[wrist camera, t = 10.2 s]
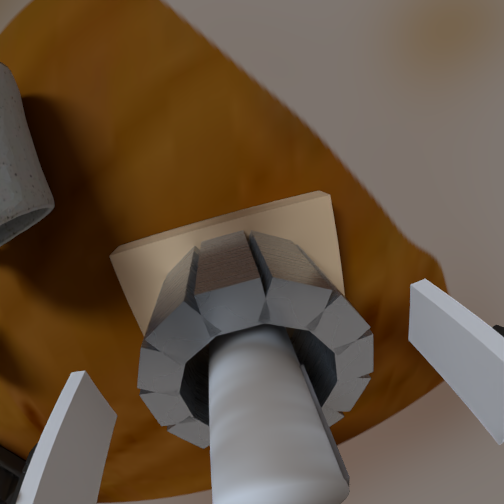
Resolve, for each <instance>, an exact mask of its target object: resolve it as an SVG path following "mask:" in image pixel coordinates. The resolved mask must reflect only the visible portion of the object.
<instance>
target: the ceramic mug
mask: <svg viewBox="0 0 504 504" xmlns="http://www.w3.org/2000/svg"><path fill="white" fill-rule="evenodd" d="M53 208H54V199H53V196H52V193H51V191H50V189H49V186H48V184H47V181H46V179H45V176H44V173H43V171H42V168H41V166H40V163H39V160H38V157H37V154H36V150H35V147H34V144H33V141H32V137H31V134H30V131H29V128H28V125H27V121H26V118H25V113H24V109H23V105H22V100H21V95H20V92H19V89H18V87H17V84H16V82H15V79H14V77H13V75H12V73H11V71H10V70H9V68H8V67H7V66H6V65H4V64H3V63H1V62H0V246H2V245H3V244H5V243H7V242H8V241H10V240H12V239H13V238H14V237H15V236H17V235H19V234H20V233H22V232H24V231H26V230H27V229H29V228H30V227H31V226H33V225H34V224H36V223H37V222H39V221H40V220H41V219H43V218H44V217H45V216H46V215H48V214H49V213H50V212H51V211H52V209H53Z"/></svg>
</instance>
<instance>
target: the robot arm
mask: <svg viewBox="0 0 504 504" xmlns="http://www.w3.org/2000/svg"><path fill="white" fill-rule="evenodd" d="M408 340H409V341H410V342H411V343H412V344H413V345H414V347H415V348H416V349H417V350H418V351H419V352H420V353H421V354H422V355H423V356H424V357H425V359H426V360H427V361H428V362H429V363H430V364H431V365H432V366H433V367H434V369H435V370H436V371H437V372H438V373H439V374H440V375H441V376H442V378H443V379H444V380H445V381H446V382H447V383H448V384H449V385H450V386H451V388H452V389H453V390H454V391H455V392H456V394H457V395H458V396H459V397H460V398H461V399H462V401H463V402H464V403H465V404H466V405H467V406H468V408H469V409H470V410H471V411H472V412H473V414H474V415H475V416H476V417H477V418H478V420H479V421H480V422H481V423H482V425H483V426H484V427H485V428H486V429H487V431H488V432H489V433H490V434H491V436H492V437H493V438H494V439H495V441H496V442H497V443H498V444H499V445H500V444H502V443H503V442H504V327H501V326H499V325H495V326H494V327H490V326H489V325H487V324H486V323H485V322H484V321H483V320H481V319H480V318H479V317H477V316H476V315H474V314H473V313H472V312H471V311H469V310H468V309H467V308H465V307H464V306H463V305H461V304H460V303H458V302H457V301H456V300H454V299H453V298H452V297H450V296H449V295H448V294H446V293H445V292H443V291H442V290H441V289H439V288H438V287H436V286H435V285H433V284H432V283H431V282H429V281H428V280H426V279H424V280H421V281H419V282H416V283H414V284H411V285H410V319H409V337H408ZM116 418H117V415H116V413H115V412H114V411H113V409H112V408H111V407H110V405H109V404H108V403H107V401H106V400H105V398H104V397H103V396H102V394H101V393H100V391H99V390H98V389H97V387H96V386H95V384H94V383H93V381H92V380H91V378H90V377H89V375H88V374H87V372H86V371H79V372H72V373H71V375H70V377H69V379H68V381H67V382H66V384H65V386H64V388H63V390H62V392H61V394H60V396H59V398H58V401H57V403H56V405H55V407H54V409H53V411H52V413H51V415H50V417H49V420H48V422H47V424H46V426H45V428H44V431H43V433H42V435H41V438H40V440H39V442H38V443H37V444H36V445H35V446H34V448H33V449H32V450H31V451H30V453H29V455H28V458H27V460H26V462H25V461H23V460H22V459H20V458H19V457H17V456H16V455H14V454H12V453H11V452H9V451H7V450H6V449H4V448H2V447H0V504H96V503H97V498H98V493H99V488H100V483H101V479H102V474H103V470H104V465H105V461H106V457H107V453H108V448H109V444H110V441H111V437H112V433H113V429H114V425H115V422H116Z"/></svg>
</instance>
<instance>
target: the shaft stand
mask: <svg viewBox="0 0 504 504" xmlns="http://www.w3.org/2000/svg"><path fill="white" fill-rule="evenodd" d="M242 230H243V231H244V234H245V237H246V240H247V242H248V238H249V235H250V232H251V230H253V231H257V232H261V233H265V234H269V235H273V236H276V237H280V238H284V239H288V240H291V241H292V242H293V243H294V244H295V245H296V244H298V245H299V246H300V247H301V249H302V250H303V251H304V252H305V253H306V254H307V255H308V256H309V257H310V258H311V259H312V260H313V261H314V262H315V263H316V265H317V266H318V267H319V268H320V269H321V270H322V271H323V272H324V273H325V274H326V276H327V277H328V278H329V279H330V280H331V281H332V283H333V284H334V285H335V286H336V287H337V288H338V289H339V291H340V292H341V293H342V294H343V295H344V296H345V293H344V284H343V276H342V268H341V261H340V253H339V246H338V240H337V233H336V227H335V221H334V215H333V209H332V203H331V198H330V195H329V194H326V193H324V192H321V191H315V192H310V193H306V194H302V195H298V196H294V197H290V198H286V199H282V200H278V201H274V202H270V203H266V204H262V205H259V206H255V207H251V208H247V209H243V210H240V211H236V212H232V213H229V214H225V215H221V216H218V217H214V218H211V219H207V220H203V221H200V222H196V223H193V224H189V225H186V226H183V227H179V228H176V229H172V230H169V231H166V232H162V233H159V234H156V235H152V236H149V237H146V238H143V239H139V240H136V241H133V242H130V243H127V244H123V245H120V246H118V247H117V248H116V249H115V250H114V251H113V252H112V253H111V255H110V256H109V257H110V260H111V262H112V265H113V267H114V270H115V272H116V275H117V277H118V280H119V282H120V285H121V287H122V289H123V292H124V294H125V296H126V298H127V301H128V303H129V305H130V307H131V310H132V312H133V314H134V316H135V318H136V320H137V322H138V325H139V327H140V329H141V331H142V333H143V335H144V336H145V333H146V330H147V327H148V324H149V321H150V319H151V316H152V313H153V310H154V307H155V304H156V301H157V299H158V296H159V293H160V290H161V287H162V285H163V282H164V280H165V279H166V276H167V274H168V273H169V272H170V271H171V270H172V269H173V268H174V266H175V265H176V264H177V263H178V262H179V261H180V260H181V259H182V258H183V257H184V256H185V255H186V254H187V253H188V252H189V251H190V250H191V249H192V248H193V247H194V246H196V247H197V248H198V249H199V250H200V248H201V242H202V241H205V240H209V239H212V238H216V237H220V236H223V235H227V234H231V233H234V232H238V231H242ZM294 330H295V328H290V327H283V326H277V325H272V324H266V323H264V324H260V325H256V326H253V327H249V328H245V329H242V330H238V331H234V332H230V333H226V334H222V335H218V336H216V337H215V338H214V339H213V340H211V341H210V342H209V343H208V344H207V345H206V347H207V348H208V349H209V427H210V457H211V480H212V498H213V504H341V503H342V502H343V501H344V500H345V499H346V498H347V496H348V495H349V492H350V491H349V475H348V472H347V470H346V468H345V465H344V462H343V460H342V458H341V455H340V453H339V450H338V448H337V445H336V443H335V440H334V438H333V436H332V433H331V431H330V428H329V426H328V423H327V421H326V418H325V416H324V414H323V411H322V409H321V406H320V404H319V401H318V399H317V397H316V394H315V392H314V389H313V387H312V384H311V382H310V380H309V377H308V375H307V372H306V370H305V367H304V365H301V366H300V363H299V361H298V358H297V356H296V353H295V351H294V348H293V346H292V343H291V341H290V338H291V337H292V335H293V333H294Z"/></svg>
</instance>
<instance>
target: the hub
mask: <svg viewBox="0 0 504 504" xmlns="http://www.w3.org/2000/svg"><path fill="white" fill-rule="evenodd" d="M264 323H266V324H272V325H277V326H283V327H290V328H295V330H294V333H293V335H292V337H291V338H290V341H291V343H292V346H293V348H294V351H295V353H296V356H297V358H298V361H299V363H300V366H301V365H304V367H305V370H306V372H307V375H308V377H309V380H310V382H311V384H312V387H313V389H314V392H315V394H316V397H317V399H318V401H319V404H320V406H321V409H322V411H323V414H324V416H325V418H326V421H327V423H328V426H329V427H330V426H332V425H333V424H334V423H336V422H337V421H339V420H340V419H342V418H343V417H344V414H343V412H342V411H350V410H351V409H352V407H353V406H354V404H355V403H356V401H357V400H358V398H359V397H360V395H361V394H362V392H363V390H364V389H365V387H366V386H367V384H368V382H369V381H370V379H371V378H370V376H369V373H371V372H373V333H372V332H371V331H370V330H369V328H370V326H369V325H368V324H367V322H366V321H365V320H364V319H363V318H362V316H361V315H360V314H359V313H358V312H357V311H356V309H355V308H354V307H353V306H352V305H351V303H350V302H349V301H348V300H347V299H346V298H345V296H344V295H343V294H342V293H341V292H340V291H339V289H338V288H337V287H336V286H335V285H334V284H333V283H332V281H331V280H330V279H329V278H328V277H327V276H326V274H325V273H324V272H323V271H322V270H321V269H320V268H319V267H318V266H317V265H316V263H315V262H314V261H313V260H312V259H311V258H310V257H309V256H308V255H307V254H306V253H305V252H304V251H303V250H302V249H301V247H300V246H299V245H298V244H296V245H295V244H294V243H293V242H292V241H291V240H288V239H284V238H280V237H276V236H273V235H269V234H265V233H261V232H257V231H253V230H251V232H250V235H249V238H248V242H247V240H246V237H245V234H244V231H243V230H242V231H238V232H234V233H231V234H227V235H223V236H220V237H216V238H212V239H209V240H205V241H202V242H201V248H200V250H199V249H198V248H197V247H196V246H194V247H193V248H192V249H191V250H190V251H189V252H188V253H187V254H186V255H185V256H184V257H183V258H182V259H181V260H180V261H179V262H178V263H177V264H176V265H175V266H174V268H173V269H172V270H171V271H170V272H169V273H168V274H167V276H166V279H165V280H164V282H163V285H162V287H161V290H160V293H159V296H158V299H157V301H156V304H155V307H154V310H153V313H152V316H151V319H150V321H149V324H148V327H147V330H146V333H145V336H144V339H143V343H142V346H141V352H140V362H139V373H138V386H137V388H140V389H141V390H140V394H139V395H140V396H141V398H142V399H143V401H144V402H145V404H146V405H147V407H148V408H149V410H150V411H151V413H152V414H153V415H154V417H155V418H156V420H157V421H158V422H159V424H160V425H161V426H167V425H168V426H167V431H168V432H170V433H172V434H174V435H176V436H178V437H180V438H182V439H184V440H186V441H188V442H190V443H192V444H194V445H197V446H199V447H201V448H203V449H204V448H205V447H207V446H209V445H210V427H209V349H208V348H207V347H206V345H207V344H208V343H209V342H210V341H211V340H213V339H214V338H215V337H216V336H218V335H222V334H226V333H230V332H234V331H238V330H242V329H245V328H249V327H253V326H256V325H260V324H264Z"/></svg>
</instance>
